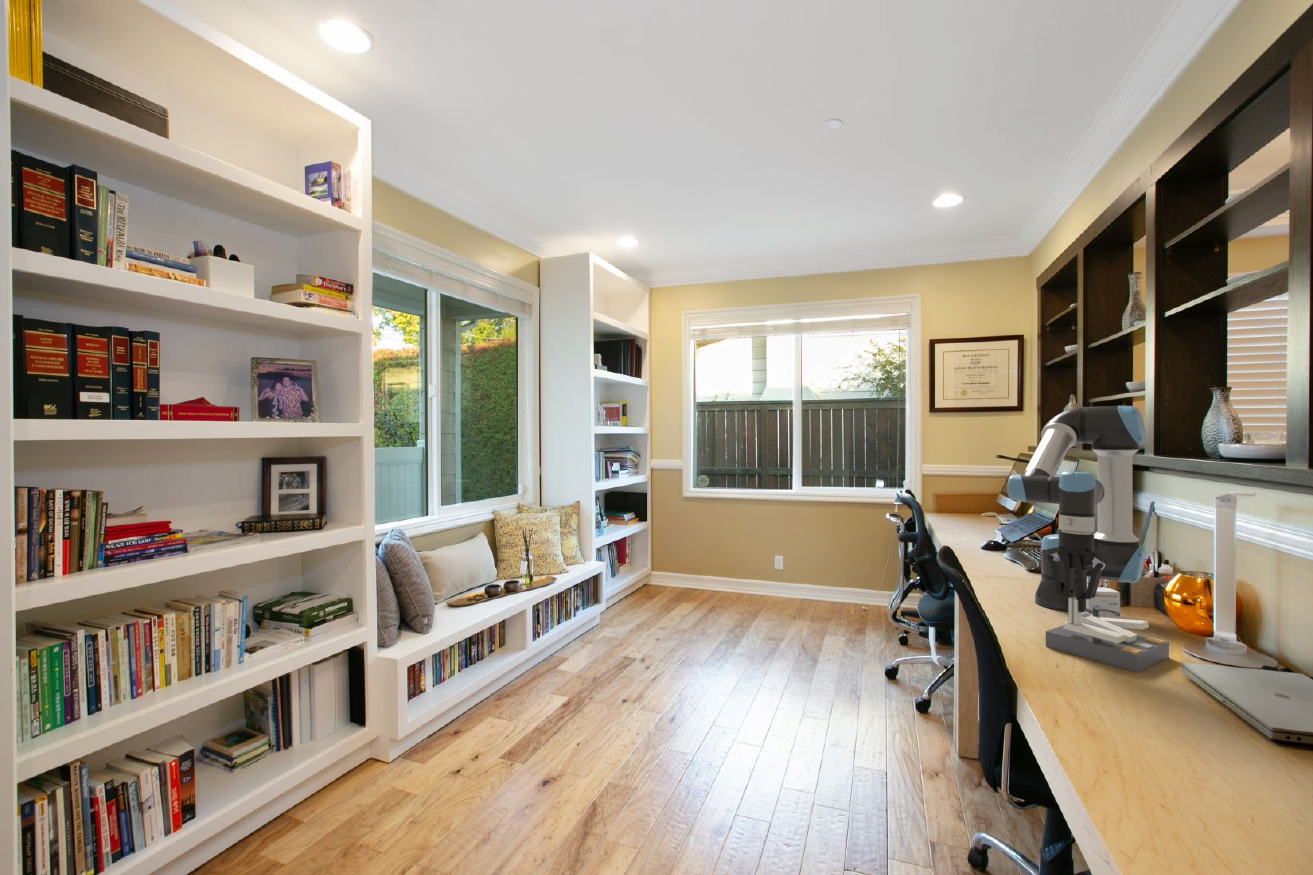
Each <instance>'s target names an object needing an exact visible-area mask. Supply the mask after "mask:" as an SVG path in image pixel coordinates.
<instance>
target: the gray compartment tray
mask: <svg viewBox="0 0 1313 875" xmlns="http://www.w3.org/2000/svg"><path fill="white" fill-rule="evenodd" d="M1123 629H1125V628H1123ZM1136 634H1137V638H1136V640H1135V641H1132V642H1130V643H1128V642H1126V641H1123V642H1120V643H1114V642H1111V641H1107V640H1103V639H1100V638H1096V637H1093V636H1089V635H1085V634H1082V633H1078V632H1075V631H1071V630H1067V629H1064V628H1063V625H1059V626H1057V627H1053V628H1052V629H1051V628H1050V629H1048V630H1046V631H1045V647H1047V648H1050V649H1054V650H1057V651H1061V652H1064V653H1068V654H1070V655H1071V654H1072V655H1075V656H1078V657H1082V658H1085V659H1089V660H1093V661H1095V662H1099V663H1103V664H1106V665H1110V666H1114V667H1116V668H1120V669H1124V670H1127V671H1130V672H1133V673H1139V672H1141V671H1143V670H1145V669H1148V668H1150V667H1152V666H1154V665H1156V664H1158V663H1160V662H1162V661H1165V660H1168V659H1169V658H1170V642H1169V641H1167V640H1163V639H1159V638H1155V637H1152V636H1151V637H1150V636H1146V635H1141V634H1138V633H1136Z"/></svg>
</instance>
